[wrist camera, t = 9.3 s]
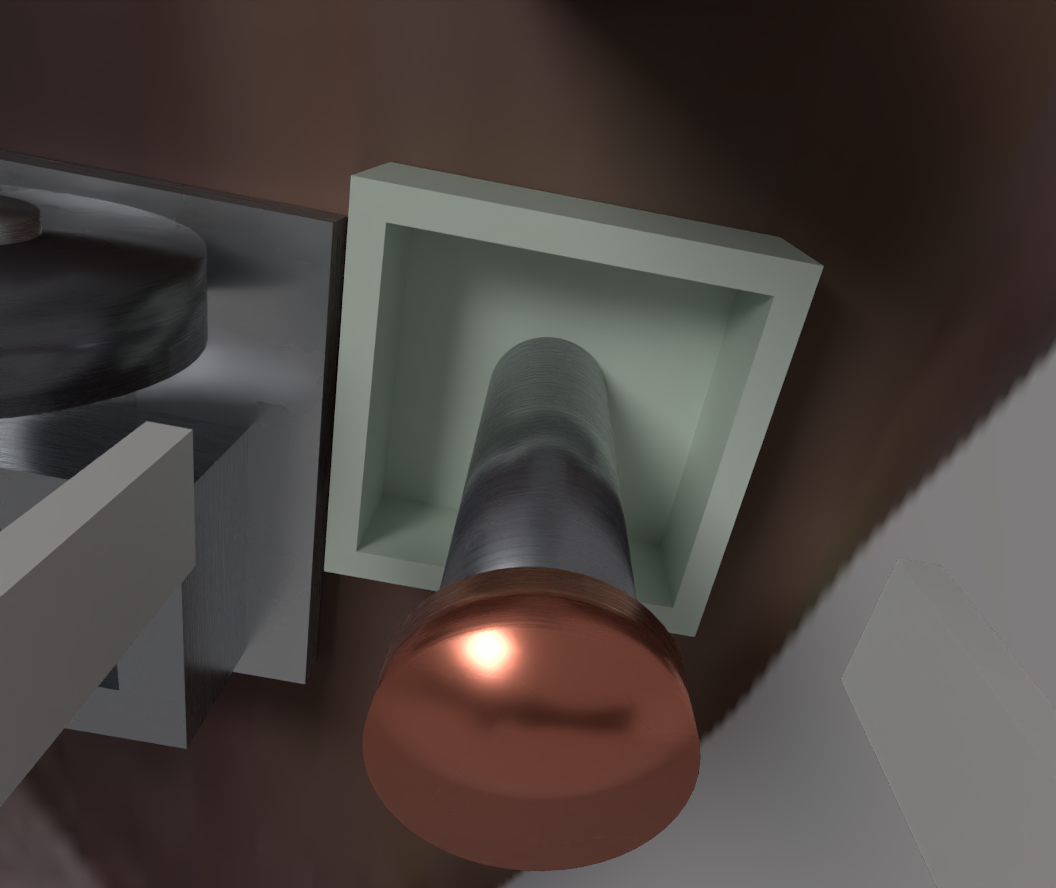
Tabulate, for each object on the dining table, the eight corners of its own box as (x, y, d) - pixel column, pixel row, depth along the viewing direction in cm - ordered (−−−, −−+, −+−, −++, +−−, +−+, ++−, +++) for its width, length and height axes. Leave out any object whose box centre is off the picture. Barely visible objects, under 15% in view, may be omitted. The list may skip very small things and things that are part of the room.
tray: (359, 503, 23) (323, 571, 19) (390, 162, 18) (351, 175, 15) (677, 560, 23) (694, 637, 20) (780, 237, 19) (823, 265, 15)
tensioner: (-33, 598, 25) (-384, 888, 16) (-121, 126, 19) (-792, 153, 10) (316, 659, 25) (170, 977, 16) (346, 215, 19) (134, 324, 10)
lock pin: (460, 447, 21) (350, 845, 10) (482, 305, 19) (376, 601, 8) (605, 472, 21) (653, 891, 10) (640, 334, 19) (744, 662, 8)
